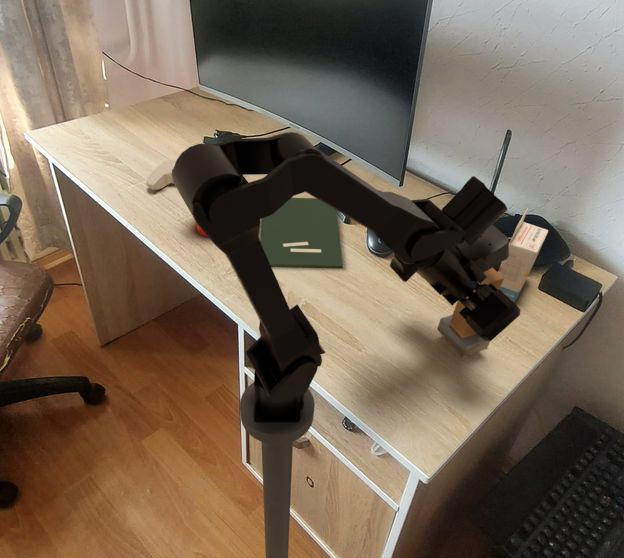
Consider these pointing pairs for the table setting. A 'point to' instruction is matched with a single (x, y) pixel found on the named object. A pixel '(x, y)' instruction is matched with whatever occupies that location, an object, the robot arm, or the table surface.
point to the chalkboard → (302, 235)
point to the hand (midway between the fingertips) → (480, 304)
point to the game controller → (161, 175)
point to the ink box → (520, 257)
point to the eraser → (459, 330)
